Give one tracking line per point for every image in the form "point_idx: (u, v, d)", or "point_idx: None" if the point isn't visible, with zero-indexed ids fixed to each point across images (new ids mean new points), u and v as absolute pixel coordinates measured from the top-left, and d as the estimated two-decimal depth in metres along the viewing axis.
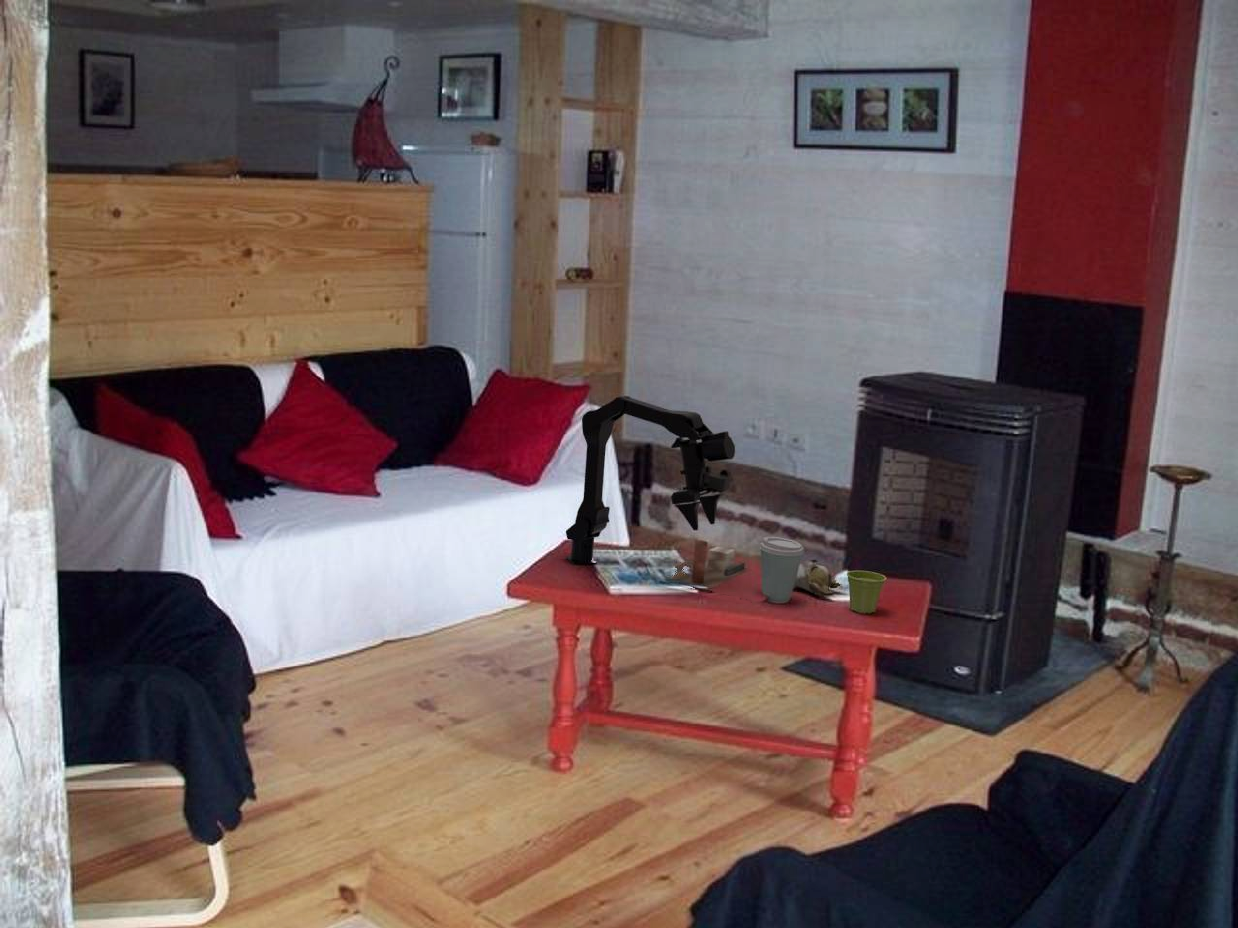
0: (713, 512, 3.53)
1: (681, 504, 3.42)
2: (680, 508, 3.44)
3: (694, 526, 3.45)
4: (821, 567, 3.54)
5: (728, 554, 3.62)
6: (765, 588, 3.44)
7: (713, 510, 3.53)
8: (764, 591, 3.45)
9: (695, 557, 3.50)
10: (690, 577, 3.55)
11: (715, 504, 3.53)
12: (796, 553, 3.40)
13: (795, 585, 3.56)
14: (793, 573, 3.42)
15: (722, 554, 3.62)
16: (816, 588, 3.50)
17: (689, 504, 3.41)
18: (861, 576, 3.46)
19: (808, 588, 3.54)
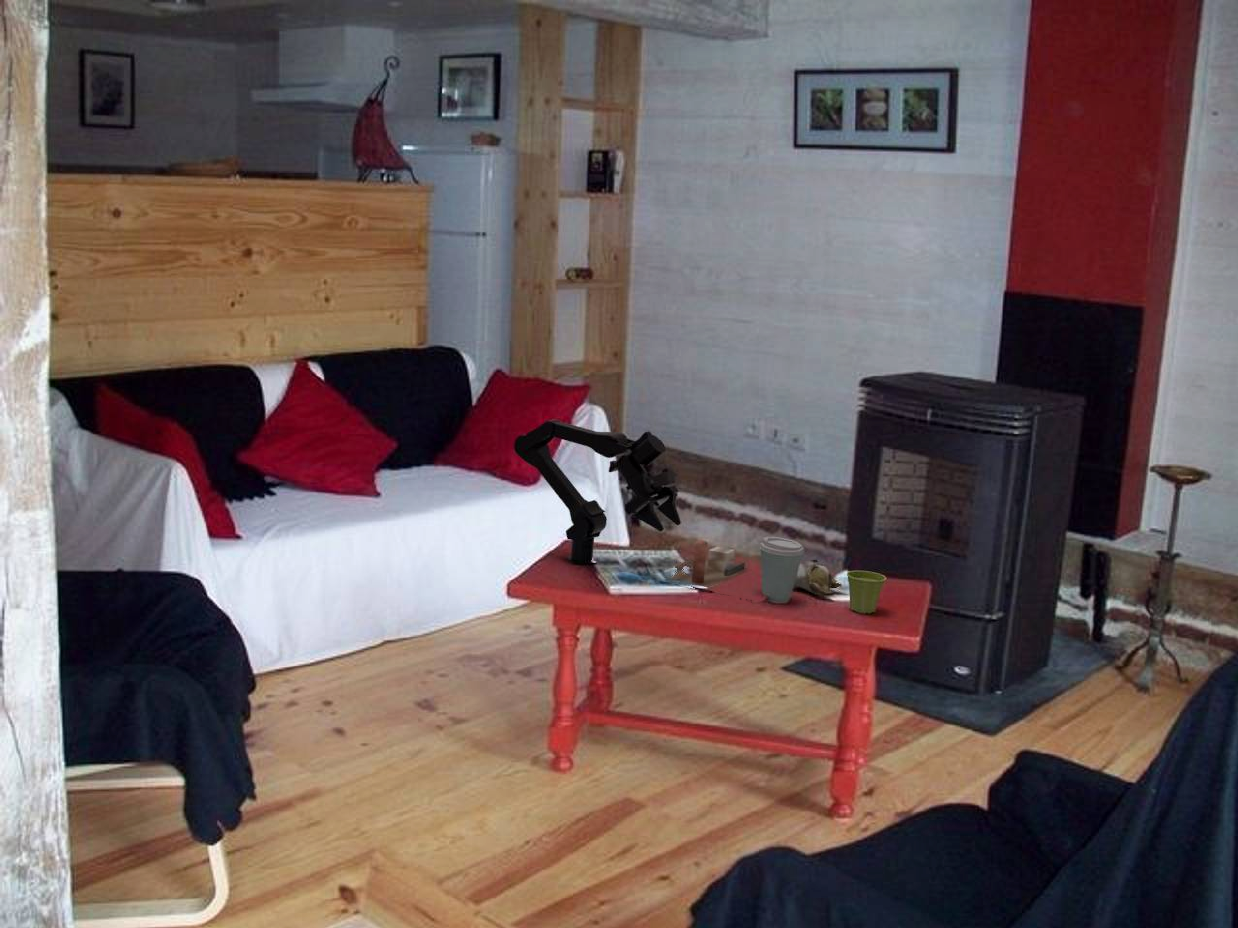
0: (675, 513, 3.58)
1: (637, 511, 3.49)
2: (639, 517, 3.50)
3: (659, 527, 3.50)
4: (821, 567, 3.54)
5: (728, 554, 3.62)
6: (765, 588, 3.44)
7: (674, 511, 3.58)
8: (764, 591, 3.45)
9: (695, 557, 3.50)
10: (690, 577, 3.55)
11: (673, 505, 3.59)
12: (796, 553, 3.40)
13: (795, 585, 3.56)
14: (793, 573, 3.42)
15: (722, 554, 3.62)
16: (816, 588, 3.50)
17: (643, 507, 3.48)
18: (861, 576, 3.46)
19: (808, 588, 3.54)
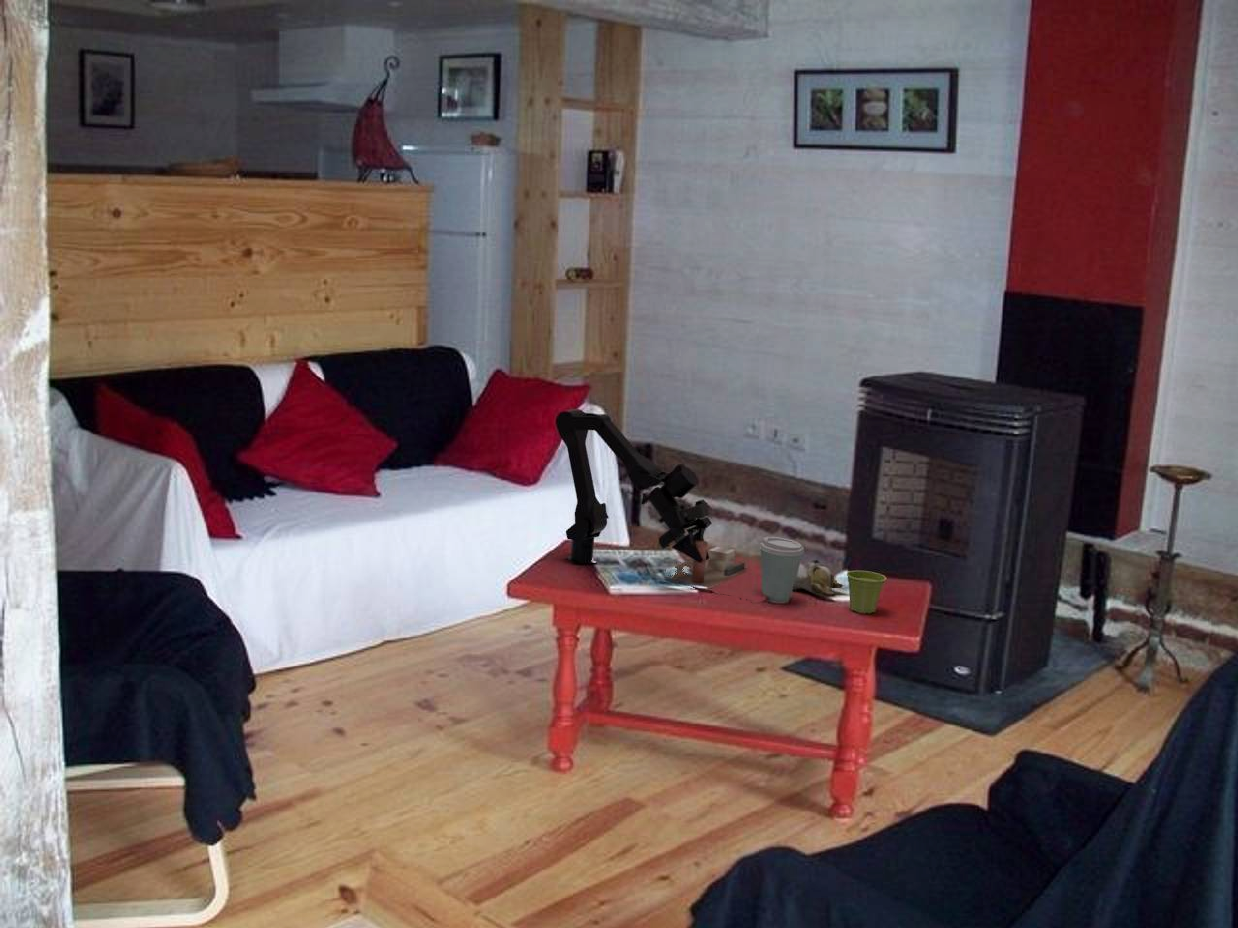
0: None
1: (676, 543, 3.48)
2: (678, 548, 3.49)
3: (698, 558, 3.49)
4: (823, 568, 3.53)
5: (728, 554, 3.62)
6: (765, 588, 3.44)
7: None
8: (764, 591, 3.45)
9: None
10: (690, 577, 3.55)
11: (702, 540, 3.53)
12: (796, 553, 3.40)
13: (797, 586, 3.55)
14: (793, 573, 3.42)
15: (722, 554, 3.62)
16: (818, 589, 3.50)
17: (683, 539, 3.47)
18: (861, 576, 3.46)
19: (810, 589, 3.53)
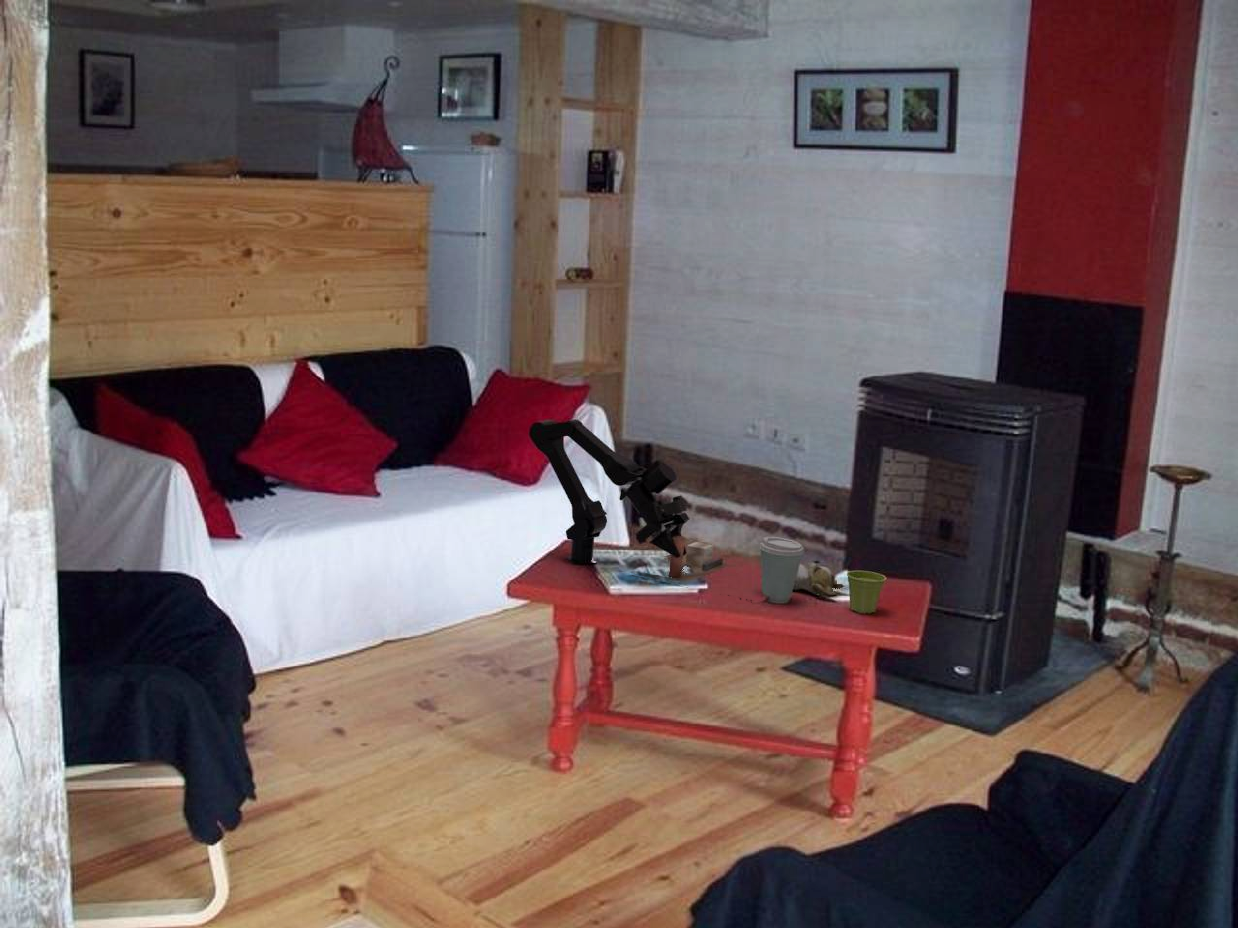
0: None
1: (653, 538, 3.51)
2: (655, 543, 3.52)
3: (675, 553, 3.51)
4: (824, 568, 3.53)
5: (706, 549, 3.65)
6: (765, 588, 3.44)
7: None
8: (764, 591, 3.45)
9: None
10: None
11: (679, 535, 3.56)
12: (796, 553, 3.40)
13: (798, 586, 3.55)
14: (793, 573, 3.42)
15: (700, 549, 3.65)
16: (820, 589, 3.49)
17: (660, 534, 3.50)
18: (861, 576, 3.46)
19: (811, 589, 3.53)
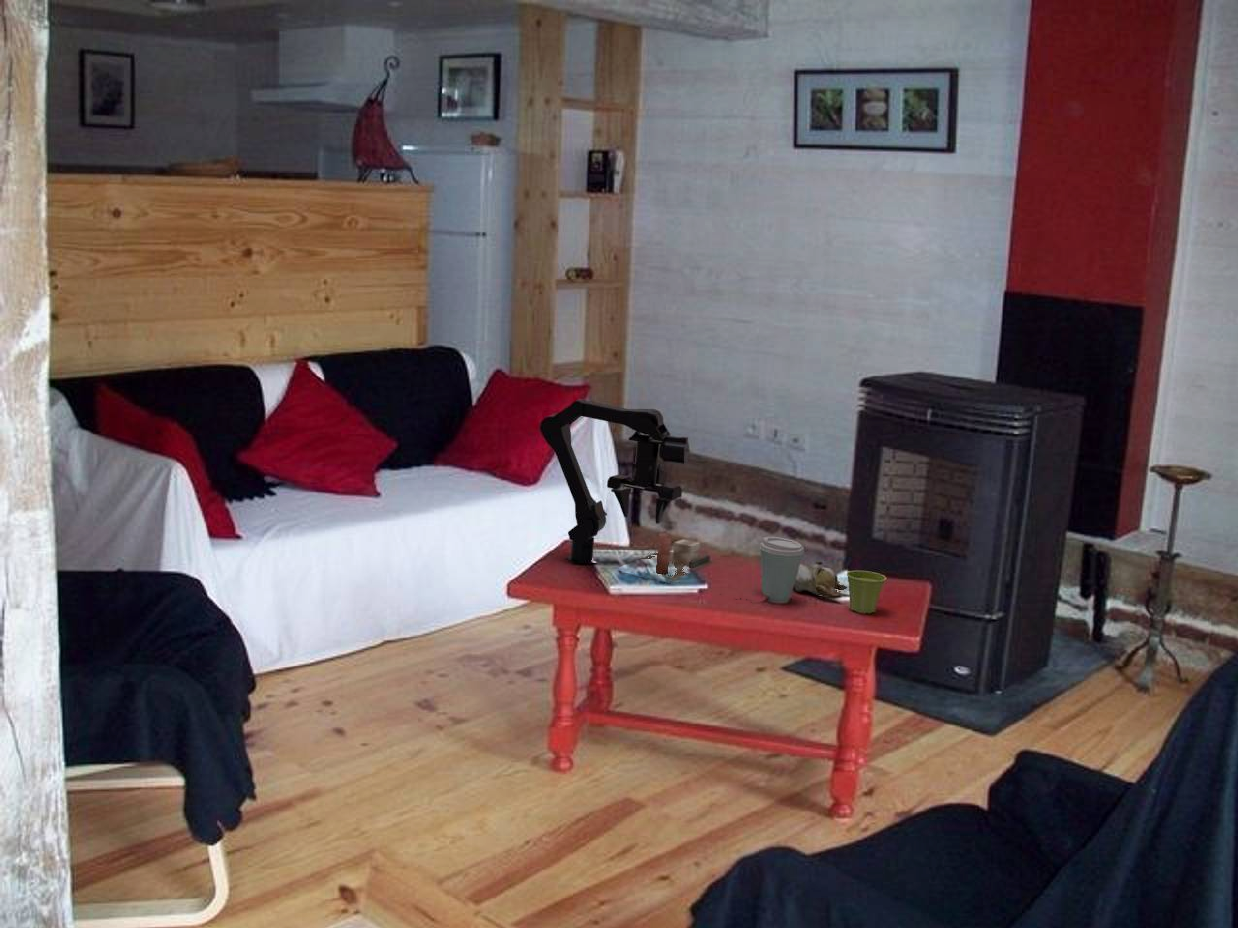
0: (628, 505, 3.64)
1: None
2: (662, 503, 3.55)
3: (659, 519, 3.59)
4: (827, 569, 3.52)
5: (693, 547, 3.67)
6: (765, 588, 3.44)
7: (628, 503, 3.64)
8: (764, 591, 3.45)
9: (659, 549, 3.55)
10: None
11: None
12: (796, 553, 3.40)
13: (801, 588, 3.54)
14: (793, 572, 3.42)
15: (687, 547, 3.66)
16: (824, 591, 3.48)
17: (674, 498, 3.57)
18: (861, 576, 3.46)
19: (815, 591, 3.52)
